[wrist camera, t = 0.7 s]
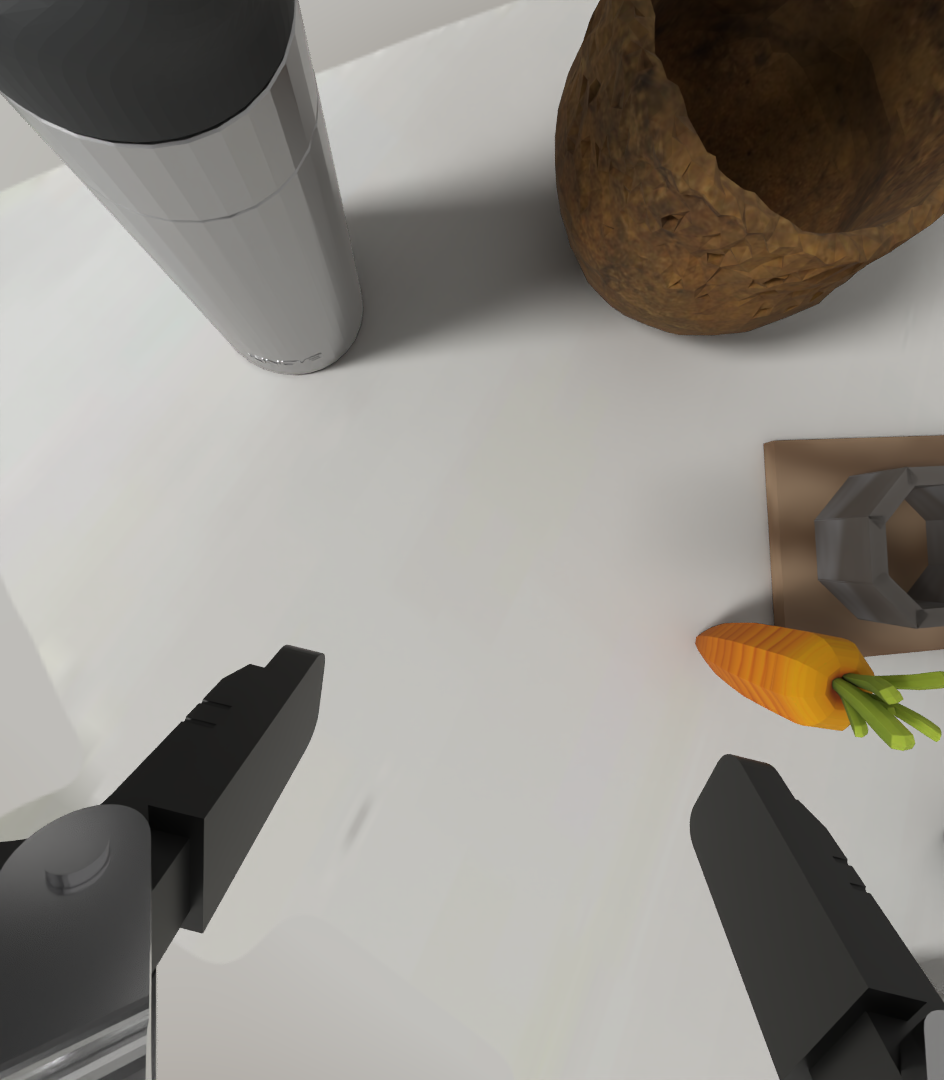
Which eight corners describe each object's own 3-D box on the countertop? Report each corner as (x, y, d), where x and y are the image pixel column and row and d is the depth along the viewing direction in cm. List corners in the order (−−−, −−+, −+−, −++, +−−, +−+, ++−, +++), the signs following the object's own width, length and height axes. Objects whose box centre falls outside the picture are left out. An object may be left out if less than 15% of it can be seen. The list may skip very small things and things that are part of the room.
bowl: (524, 380, 32) (620, 235, 17) (518, 111, 32) (607, -264, 17) (772, 386, 34) (1046, 263, 19) (765, 134, 34) (1031, -178, 19)
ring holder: (763, 443, 34) (823, 426, 29) (950, 437, 36) (1037, 420, 31) (776, 660, 34) (838, 680, 29) (963, 642, 36) (1052, 658, 31)
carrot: (723, 598, 33) (970, 641, 18) (737, 665, 33) (995, 761, 19) (660, 614, 33) (863, 672, 18) (674, 682, 33) (889, 795, 18)
